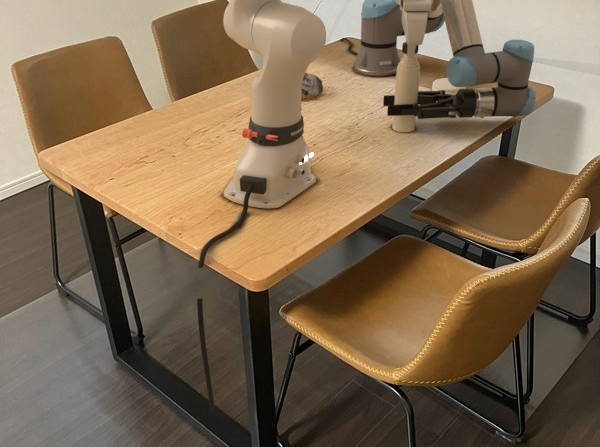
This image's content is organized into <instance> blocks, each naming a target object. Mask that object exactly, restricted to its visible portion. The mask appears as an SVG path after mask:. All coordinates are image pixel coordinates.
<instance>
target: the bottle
mask: <svg viewBox="0 0 600 447" xmlns="http://www.w3.org/2000/svg"><path fill="white" fill-rule="evenodd" d="M420 76H421V64H420V63H419V61H418V58H417V56H416V54H415V55H414V57H408V56H407V54H405V53H403V56H402V58H401V59H400V62H399V64H398V66H397V72H396V74H395V88H394V95H395V99H394V105H402V104H413V105H415V103H417V100H418V91H419V88H420V78H421V77H420ZM416 119H417V116H414V115H401V116H392V130H394V131H395V132H399V133H410V132H413V131H414V130H415V129H416Z"/></svg>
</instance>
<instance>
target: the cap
mask: <svg viewBox="0 0 600 447" xmlns="http://www.w3.org/2000/svg"><path fill="white" fill-rule="evenodd" d="M401 46H402V47H401V53H402V54H404V53H405V54H407V48H408V44H407V42H406V41H405V42H403V43H402V45H401ZM419 47H420V45H416V49H415V55H416V54H418V53H419Z"/></svg>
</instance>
